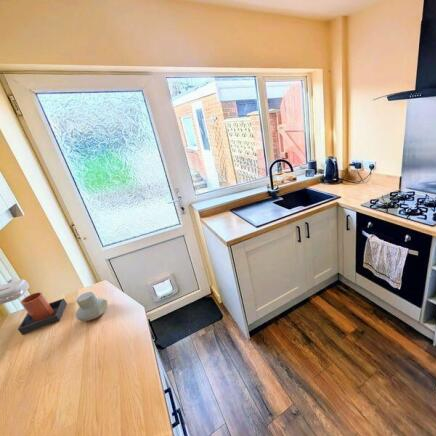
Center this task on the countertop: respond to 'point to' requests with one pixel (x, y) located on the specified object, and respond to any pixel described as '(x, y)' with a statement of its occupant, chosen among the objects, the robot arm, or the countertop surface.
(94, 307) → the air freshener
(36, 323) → the tray
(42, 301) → the tumbler
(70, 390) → the countertop surface
